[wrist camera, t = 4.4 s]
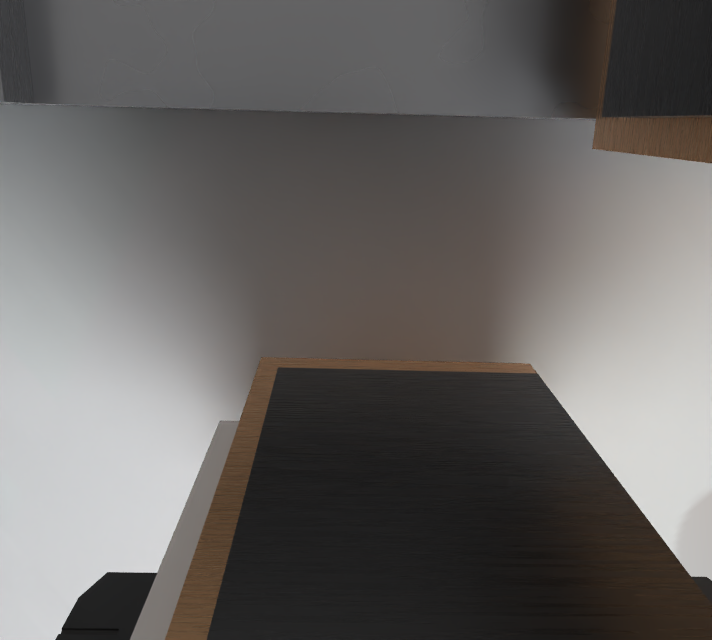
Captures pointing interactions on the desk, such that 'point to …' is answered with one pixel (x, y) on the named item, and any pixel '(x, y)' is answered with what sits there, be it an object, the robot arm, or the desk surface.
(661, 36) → the rail
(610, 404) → the desk surface
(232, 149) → the desk surface
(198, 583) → the tan wooden block
